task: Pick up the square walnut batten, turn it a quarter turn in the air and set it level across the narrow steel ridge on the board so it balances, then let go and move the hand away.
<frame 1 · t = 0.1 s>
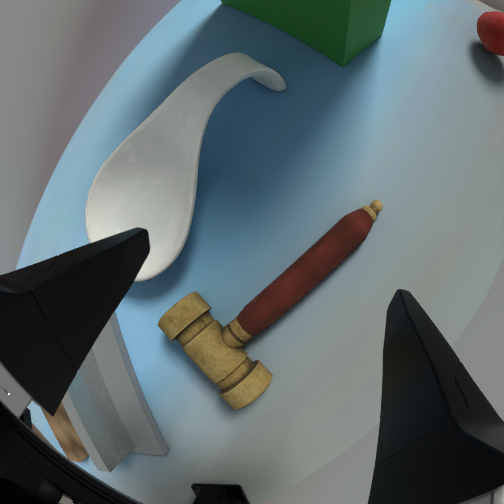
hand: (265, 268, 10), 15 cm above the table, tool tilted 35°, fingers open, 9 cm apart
hardback book: (298, 12, 24), on the table
gavel: (289, 286, 25), on the table
spoon rest: (189, 166, 26), on the table
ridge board: (108, 387, 28), on the table
onion: (486, 49, 19), on the table
walnut batten: (59, 403, 31), on the table
steel ridge: (87, 400, 24), on the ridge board, point 4 cm above the table
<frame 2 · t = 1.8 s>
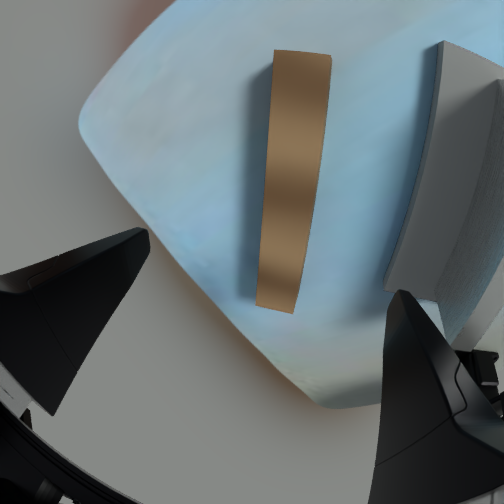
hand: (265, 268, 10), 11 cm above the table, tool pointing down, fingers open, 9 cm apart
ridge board: (478, 191, 15), on the table
walnut batten: (295, 186, 20), on the table
steel ridge: (502, 217, 12), on the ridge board, point 4 cm above the table
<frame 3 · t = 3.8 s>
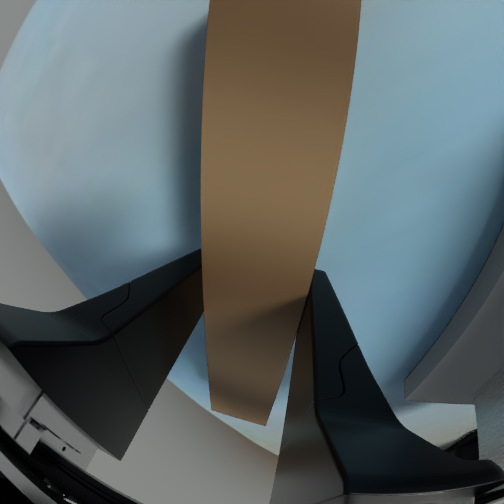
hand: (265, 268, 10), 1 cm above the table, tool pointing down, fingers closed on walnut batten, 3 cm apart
walnut batten: (274, 247, 11), on the table, touching gripper
when the fingers open (9 cm above the table, at t = 8.2 s): walnut batten stays where it is, resting on steel ridge.
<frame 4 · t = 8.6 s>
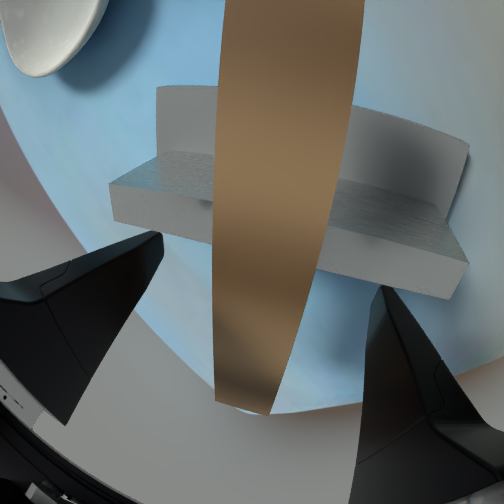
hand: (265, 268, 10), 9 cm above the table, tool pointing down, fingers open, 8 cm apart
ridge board: (300, 179, 17), on the table
walnut batten: (278, 238, 11), point 7 cm above the table, touching steel ridge
steel ridge: (289, 206, 14), on the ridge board, point 4 cm above the table
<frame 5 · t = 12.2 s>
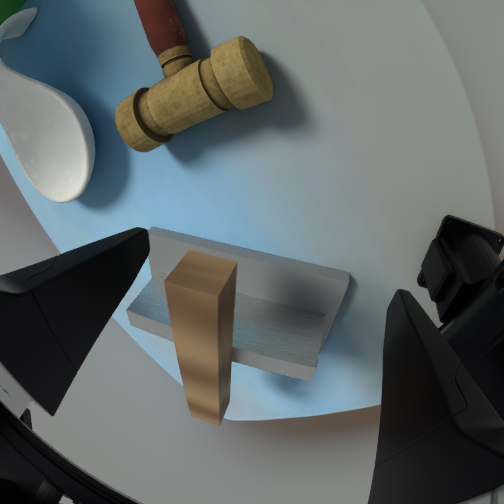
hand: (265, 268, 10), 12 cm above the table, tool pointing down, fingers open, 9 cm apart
hardback book: (6, 11, 15), on the table
gavel: (168, 8, 15), on the table
spoon rest: (55, 91, 21), on the table
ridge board: (240, 291, 27), on the table
walnut batten: (213, 348, 22), point 7 cm above the table, touching steel ridge
steel ridge: (225, 322, 24), on the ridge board, point 4 cm above the table
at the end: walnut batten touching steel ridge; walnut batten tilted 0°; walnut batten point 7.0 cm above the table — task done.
